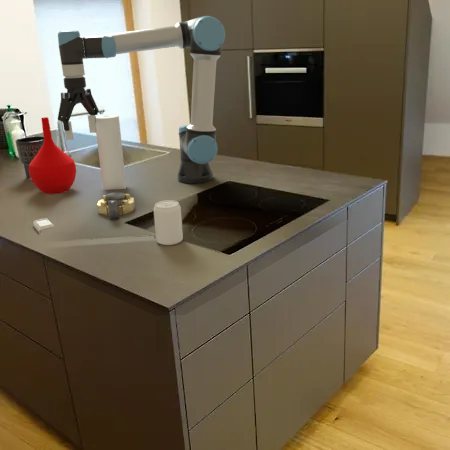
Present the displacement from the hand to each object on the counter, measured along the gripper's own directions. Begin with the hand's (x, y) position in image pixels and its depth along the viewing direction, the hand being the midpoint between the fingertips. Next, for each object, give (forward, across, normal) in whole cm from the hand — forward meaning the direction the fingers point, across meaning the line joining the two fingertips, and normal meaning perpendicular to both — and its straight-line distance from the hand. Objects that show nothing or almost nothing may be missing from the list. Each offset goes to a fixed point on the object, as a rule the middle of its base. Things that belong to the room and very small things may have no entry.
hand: (81, 136), depth 193 cm
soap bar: (+25, +32, +6) cm, 41 cm away
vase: (+25, -4, -21) cm, 33 cm away
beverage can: (+25, +27, +51) cm, 63 cm away
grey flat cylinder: (+24, +13, +19) cm, 34 cm away
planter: (+25, -17, -43) cm, 52 cm away
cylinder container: (+25, -15, +1) cm, 29 cm away
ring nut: (+23, +13, +22) cm, 34 cm away
